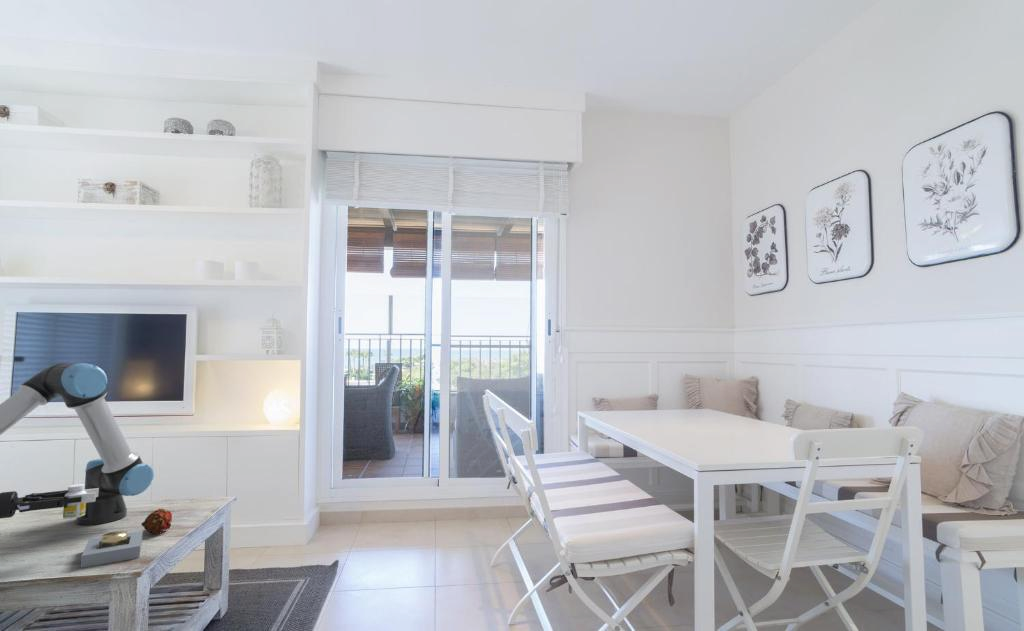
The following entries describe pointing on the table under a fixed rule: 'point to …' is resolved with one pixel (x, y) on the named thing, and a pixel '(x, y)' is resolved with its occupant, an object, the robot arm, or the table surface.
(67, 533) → the table surface
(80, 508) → the supplement bottle
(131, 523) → the table surface
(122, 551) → the socket plate
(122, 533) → the plunger disc
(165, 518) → the dragon fruit
